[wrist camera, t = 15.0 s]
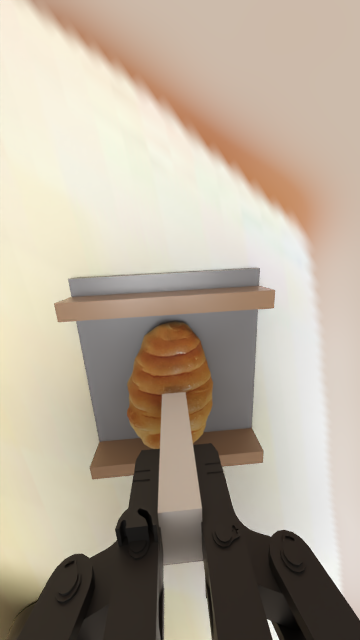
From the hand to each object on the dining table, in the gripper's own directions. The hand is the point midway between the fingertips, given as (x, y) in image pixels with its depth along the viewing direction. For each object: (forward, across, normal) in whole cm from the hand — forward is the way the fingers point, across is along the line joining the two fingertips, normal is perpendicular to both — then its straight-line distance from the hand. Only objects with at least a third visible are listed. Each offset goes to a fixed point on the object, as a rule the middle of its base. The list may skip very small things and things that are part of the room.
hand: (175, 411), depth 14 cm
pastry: (+5, 0, 0) cm, 5 cm away
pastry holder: (+5, 0, 0) cm, 5 cm away
